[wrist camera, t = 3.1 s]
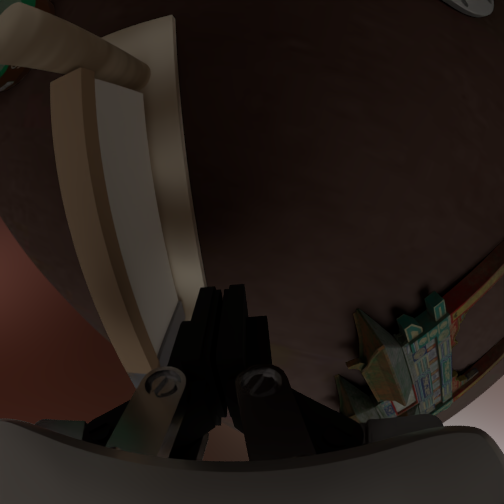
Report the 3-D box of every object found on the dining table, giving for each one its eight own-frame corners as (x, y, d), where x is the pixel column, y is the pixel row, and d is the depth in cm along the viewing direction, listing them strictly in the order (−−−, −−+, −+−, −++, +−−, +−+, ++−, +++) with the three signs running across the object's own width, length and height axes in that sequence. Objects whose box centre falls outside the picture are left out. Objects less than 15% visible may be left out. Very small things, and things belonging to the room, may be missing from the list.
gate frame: (106, 40, 12) (-16, -9, 1) (175, 19, 12) (89, -85, 1) (162, 346, 22) (124, 467, 11) (219, 345, 21) (203, 479, 11)
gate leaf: (121, 96, 13) (50, 82, 6) (145, 89, 13) (81, 67, 6) (165, 319, 19) (137, 390, 13) (186, 319, 19) (163, 393, 12)
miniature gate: (529, 350, 21) (373, 470, 25) (510, 332, 26) (362, 442, 31) (548, 189, 12) (287, 399, 16) (511, 177, 17) (277, 348, 22)
